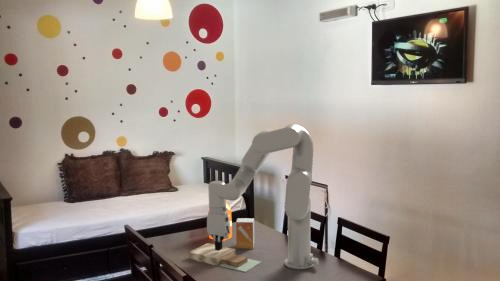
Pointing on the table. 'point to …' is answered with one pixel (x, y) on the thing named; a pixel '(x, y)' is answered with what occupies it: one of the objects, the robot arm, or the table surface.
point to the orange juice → (230, 221)
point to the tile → (234, 260)
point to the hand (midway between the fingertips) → (218, 249)
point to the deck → (210, 254)
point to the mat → (244, 267)
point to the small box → (245, 233)
